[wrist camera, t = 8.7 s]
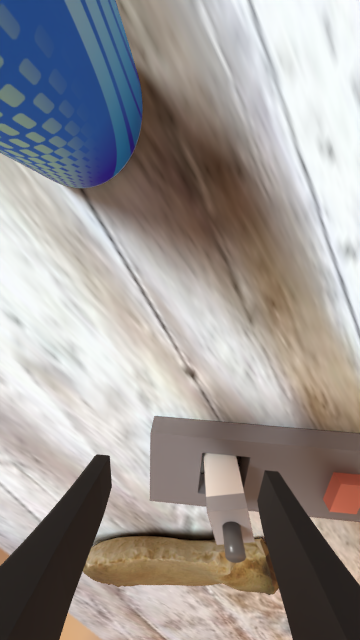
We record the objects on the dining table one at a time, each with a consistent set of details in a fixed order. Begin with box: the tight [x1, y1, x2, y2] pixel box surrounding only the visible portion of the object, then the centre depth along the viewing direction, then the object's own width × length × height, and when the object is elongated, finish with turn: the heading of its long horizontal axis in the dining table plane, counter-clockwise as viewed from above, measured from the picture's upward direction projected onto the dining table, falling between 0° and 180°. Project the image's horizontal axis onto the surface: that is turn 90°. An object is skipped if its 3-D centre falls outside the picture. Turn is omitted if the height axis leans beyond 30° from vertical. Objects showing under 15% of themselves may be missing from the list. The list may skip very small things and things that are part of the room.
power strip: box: [150, 416, 360, 522], centre depth 20 cm, size 22×9×3 cm, turn 87°
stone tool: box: [83, 536, 279, 595], centre depth 25 cm, size 12×4×25 cm
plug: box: [204, 453, 255, 563], centre depth 18 cm, size 3×4×8 cm
